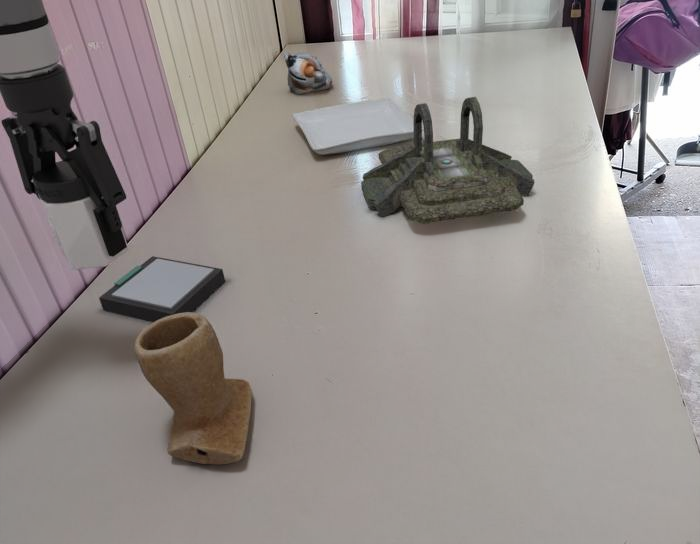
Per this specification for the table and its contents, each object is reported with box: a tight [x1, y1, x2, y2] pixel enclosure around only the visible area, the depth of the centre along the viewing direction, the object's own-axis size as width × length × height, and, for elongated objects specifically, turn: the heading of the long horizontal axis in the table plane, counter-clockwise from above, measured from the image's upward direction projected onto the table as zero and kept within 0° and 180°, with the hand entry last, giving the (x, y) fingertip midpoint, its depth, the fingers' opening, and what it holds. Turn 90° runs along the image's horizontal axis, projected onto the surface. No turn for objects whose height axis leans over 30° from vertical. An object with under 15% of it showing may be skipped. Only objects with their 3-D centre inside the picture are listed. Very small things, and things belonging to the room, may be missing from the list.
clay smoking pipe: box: [133, 311, 253, 465], centre depth 77 cm, size 15×12×15 cm
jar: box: [32, 160, 130, 271], centre depth 83 cm, size 9×8×12 cm
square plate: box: [291, 97, 424, 155], centre depth 159 cm, size 27×27×4 cm
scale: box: [98, 255, 226, 323], centre depth 106 cm, size 15×14×3 cm
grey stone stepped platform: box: [360, 96, 535, 225], centre depth 125 cm, size 35×34×18 cm
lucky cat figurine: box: [283, 52, 333, 95], centre depth 189 cm, size 15×12×14 cm
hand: (94, 246), depth 86 cm, fingers closed on jar, 8 cm apart
